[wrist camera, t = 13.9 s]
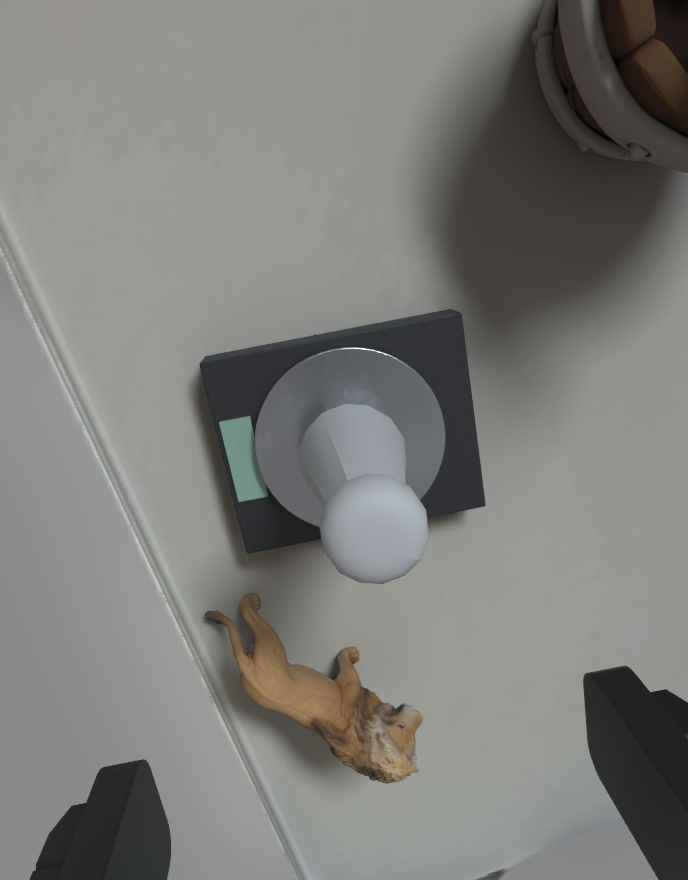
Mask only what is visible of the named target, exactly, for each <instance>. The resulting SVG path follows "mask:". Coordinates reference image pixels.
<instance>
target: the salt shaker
mask: <svg viewBox="0 0 688 880" xmlns="http://www.w3.org/2000/svg"><path fill="white" fill-rule="evenodd" d="M298 458H299V464H300V469H301V474H302V478H303V479H304V481H305V482H306V483H307V485H308V486H309V488H310V489H311V490H312V492H313V493H314V495H315V496H316V498H317V499H318V501H319V502H320V504H321V505H322V507H323V508H324V510H323V513H322V516H321V519H320V533H321V538H322V544H323V549H324V551H325V553H326V555H327V556H328V558H329V559H330V560H331V562H332V563H333V564H334V566H335V567H336V569H337V570H338V571H339V573H341V574H343V575H345V576H347V577H349V578H351V579H353V580H355V581H357V582H360V583H376V584H384V583H386V582H389V581H392V580H394V579H397V578H399V577H402V576H404V575H405V574H407V573H408V572H409V571H410V570H411V569H412V568H413V567H414V566H415V565H416V564H417V563H418V562H419V561H420V560H421V559H422V556H423V553H424V551H425V548H426V545H427V542H428V540H429V536H428V525H427V515H426V509H425V508H424V506H423V505H422V503H421V502H420V500H419V499H418V497H417V496H416V495H415V493H414V492H413V490H412V489H411V487H410V486H408V485H407V484H406V452H405V443H404V437H403V436H402V434H401V433H400V431H399V430H398V428H397V427H396V425H395V424H394V422H393V421H392V419H391V418H389V417H388V416H386V415H384V414H382V413H381V412H379V411H377V410H375V409H374V408H372V407H370V406H368V405H351V404H344V405H341V406H339V407H336V408H333V409H331V410H328V411H325V412H323V413H322V414H321V415H320V416H319V417H318V418H317V419H316V420H315V421H314V422H313V423H312V424H311V426H310V427H309V428H308V429H307V430H306V432H305V434H304V437H303V440H302V443H301V446H300V449H299V452H298Z"/></svg>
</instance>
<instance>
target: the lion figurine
mask: <svg viewBox="0 0 688 880" xmlns="http://www.w3.org/2000/svg"><path fill="white" fill-rule="evenodd" d="M260 604H261V601H260V599H259V596H258V595H256V594H247V595H246V596H245V597H244V598H243V599H242V601H241V603H240V610H241V614H242V617H243V619H244V620H246V621H247V622H248V624H249V625H250V627H251V629H252V631H253V633H254V637H255V644H253V645H248V646H247V647H246V651H247V655H246V654H245V653H244V650H243V646H242V643H241V639H240V637H239V634H238V632H237V630H236V628H235V626H234V624H233V622H232V621H231V620H230V619H229V618H227V617H226V616H224V615H223V614H221V613H220V612H219V611H217V610H216V611H208V612H206V614H205V618H206V619H208V620H211V621H214V622H216V623H218V624H223V625H225V626H226V627H227V629H228V632H229V635H230V638H231V643H232V647H233V651H234V655H235V658H236V660H237V664H238V667H239V669H240V671H241V673H240V682H241V685H242V687H243V689H244V690H245V692H246V693H247V694H248V695H249V696H250V697H251V698H252V699H253V700H254V701H255V702H256V703H257V704H258V705H259V706H261V707H263V708H266V709H270V710H273V711H276V712H279V713H281V714H283V715H285V716H287V717H289V718H291V719H292V720H294V721H296V722H297V723H299V724H301V725H302V726H304V727H306V728H308V729H310V730H312V731H313V732H315V733H317V734H318V735H320V736H321V737H322V738H323V739H324V740H325V741H326V742H327V743H328V744H329V745H330V750H331V752H332V753H333V755H335V756H336V757H337V758H339V759H340V760H342V761H343V764H344V765H347V766H349V767H351V768H352V769H353V770H355V771H356V772H358V773H360V774H363V775H365V776H369V778H370V779H371V780H378V781H380V782H382V783H391V782H394V781H395V782H399V781H402V780H404V779H405V778H406V777H407V776H410V775H411V773H412V772H418V771H419V770H418V769H417V767H416V760H417V758H416V753H415V744H416V743H415V732H416V730H417V729H418V727H419V726H420V724H421V722H422V720H423V716H422V714H421V713H420V712H419V711H417V710H415V709H414V708H413V707H411V706H410V705H408V704H407V703H403V704H401V705H400V706H399V707H398V708H396V709H395V708H394V707H393V706H392V705H391V704H389V703H382V702H381V701H380V699H379V698H378V696H377V695H376V694H375V693H374V692H371V691H369V690H368V689H366V688H363V687H362V686H361V682H360V679H359V676H358V674H357V671H356V670H355V668H354V667H353V664H354V663H355V662H357V661H359V652H358V651H357V649H356V648H355V647H350V648H346V649H344V650H343V651H342V652H341V653H340V655H339V656H338V664H339V667H340V673H339V675H338V676H337V678H336V679H333V680H331V679H330V678H328V677H327V676H325V675H324V674H322V673H320V672H318V671H316V670H314V669H311V668H309V667H306V666H302V665H291V664H289V663H288V662H287V658H286V653H285V649H284V646H283V644H282V643H281V641H280V639H279V637H278V635H277V634H276V632H275V631H274V629H273V628H272V627H271V626H270V625H269V624H268V623H267V622H266V621H265V620H264V619H263V618H262V617H261V616H260V615H259V614H258V613H257V612H256V610H259V609H260V607H261V606H260Z"/></svg>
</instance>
